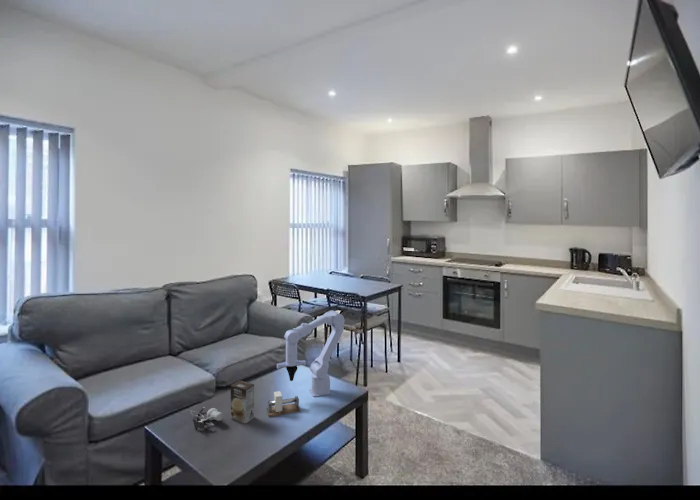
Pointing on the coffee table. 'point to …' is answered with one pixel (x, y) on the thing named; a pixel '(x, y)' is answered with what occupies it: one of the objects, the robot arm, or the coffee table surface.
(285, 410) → the rod jig
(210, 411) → the clip-on lamp
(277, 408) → the white block on rod
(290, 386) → the coffee table surface
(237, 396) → the coffee box
